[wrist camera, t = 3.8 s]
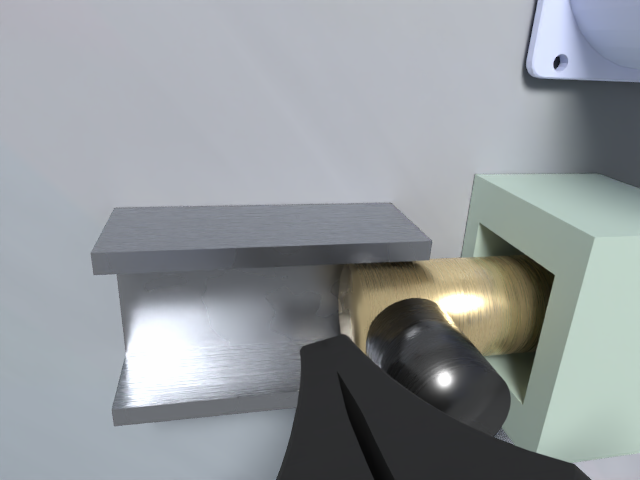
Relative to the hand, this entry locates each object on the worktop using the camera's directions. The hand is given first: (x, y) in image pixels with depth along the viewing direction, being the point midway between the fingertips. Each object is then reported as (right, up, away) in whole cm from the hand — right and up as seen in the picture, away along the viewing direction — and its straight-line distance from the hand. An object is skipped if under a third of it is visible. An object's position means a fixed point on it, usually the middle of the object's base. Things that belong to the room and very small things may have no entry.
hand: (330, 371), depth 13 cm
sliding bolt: (+5, +2, +5) cm, 7 cm away
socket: (+7, +2, +7) cm, 10 cm away
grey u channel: (-2, +2, +5) cm, 6 cm away
